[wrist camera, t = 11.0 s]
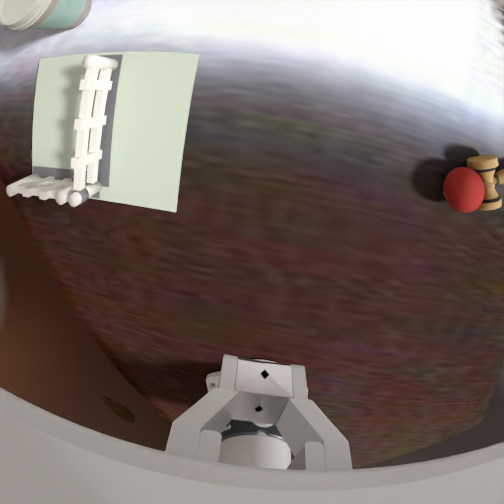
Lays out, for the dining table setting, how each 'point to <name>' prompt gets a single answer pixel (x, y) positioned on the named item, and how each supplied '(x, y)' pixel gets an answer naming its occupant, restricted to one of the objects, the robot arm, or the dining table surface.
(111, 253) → the dining table surface
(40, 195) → the fence fixed
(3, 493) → the robot arm
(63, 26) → the coffee cup
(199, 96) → the dining table surface
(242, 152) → the dining table surface
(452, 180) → the kendama
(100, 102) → the white toy fence
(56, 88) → the card
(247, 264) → the dining table surface
